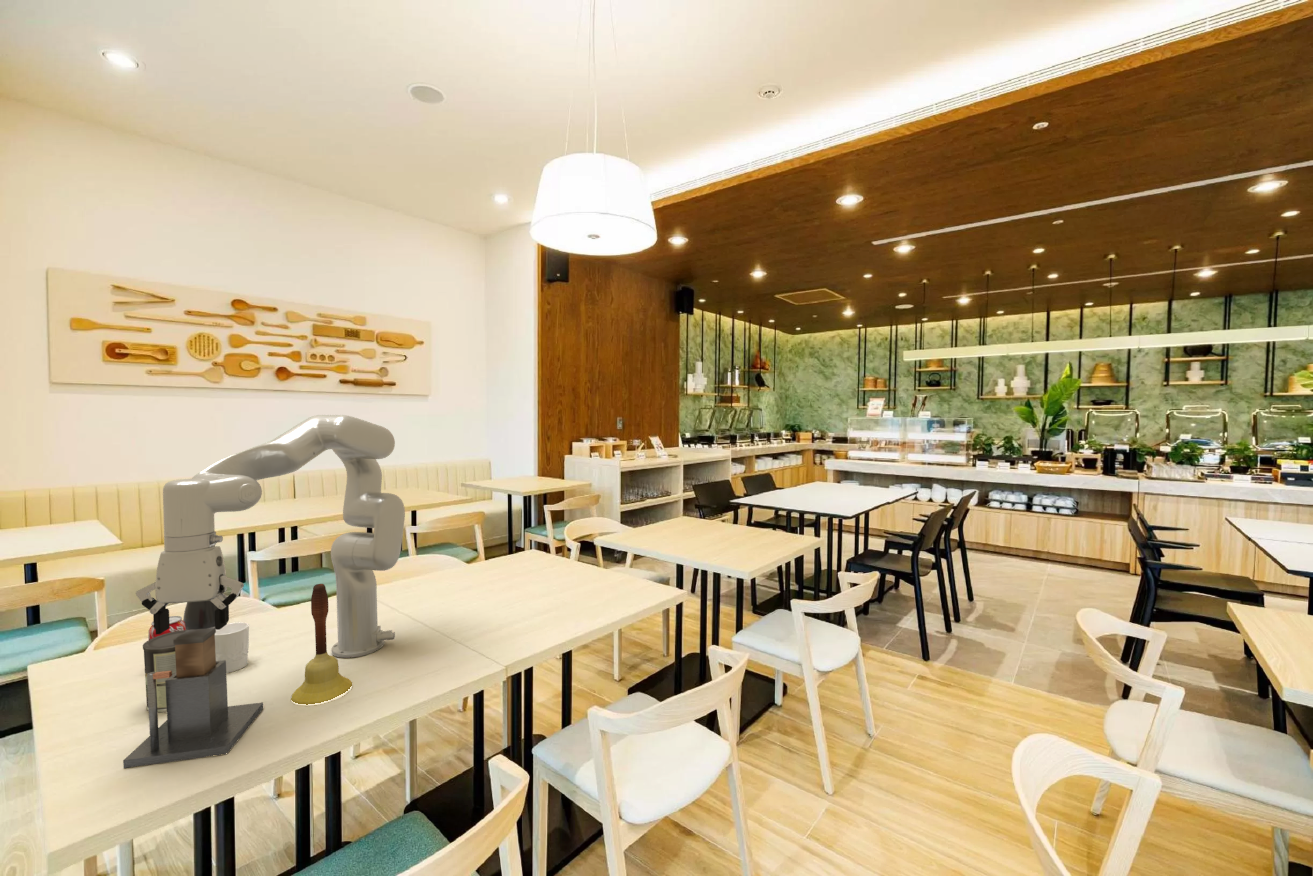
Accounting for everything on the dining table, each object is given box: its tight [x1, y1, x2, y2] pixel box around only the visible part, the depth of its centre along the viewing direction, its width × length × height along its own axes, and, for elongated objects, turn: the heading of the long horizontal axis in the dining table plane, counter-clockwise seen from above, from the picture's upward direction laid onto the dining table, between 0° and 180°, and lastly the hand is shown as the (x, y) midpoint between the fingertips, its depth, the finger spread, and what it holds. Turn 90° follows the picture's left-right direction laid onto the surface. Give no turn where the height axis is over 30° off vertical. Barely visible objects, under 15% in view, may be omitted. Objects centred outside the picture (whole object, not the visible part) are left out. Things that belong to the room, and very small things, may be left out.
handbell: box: [290, 583, 353, 705], centre depth 126 cm, size 12×12×25 cm
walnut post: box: [173, 628, 216, 678], centre depth 109 cm, size 5×5×19 cm
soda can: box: [147, 615, 186, 641], centre depth 138 cm, size 7×7×12 cm
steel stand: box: [122, 660, 264, 769], centre depth 109 cm, size 16×16×16 cm
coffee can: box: [142, 629, 195, 713], centre depth 122 cm, size 10×10×14 cm
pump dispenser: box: [182, 600, 218, 630], centre depth 157 cm, size 10×10×15 cm
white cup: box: [215, 621, 250, 674], centre depth 138 cm, size 8×8×10 cm
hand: (192, 629), depth 108 cm, fingers open, 9 cm apart
